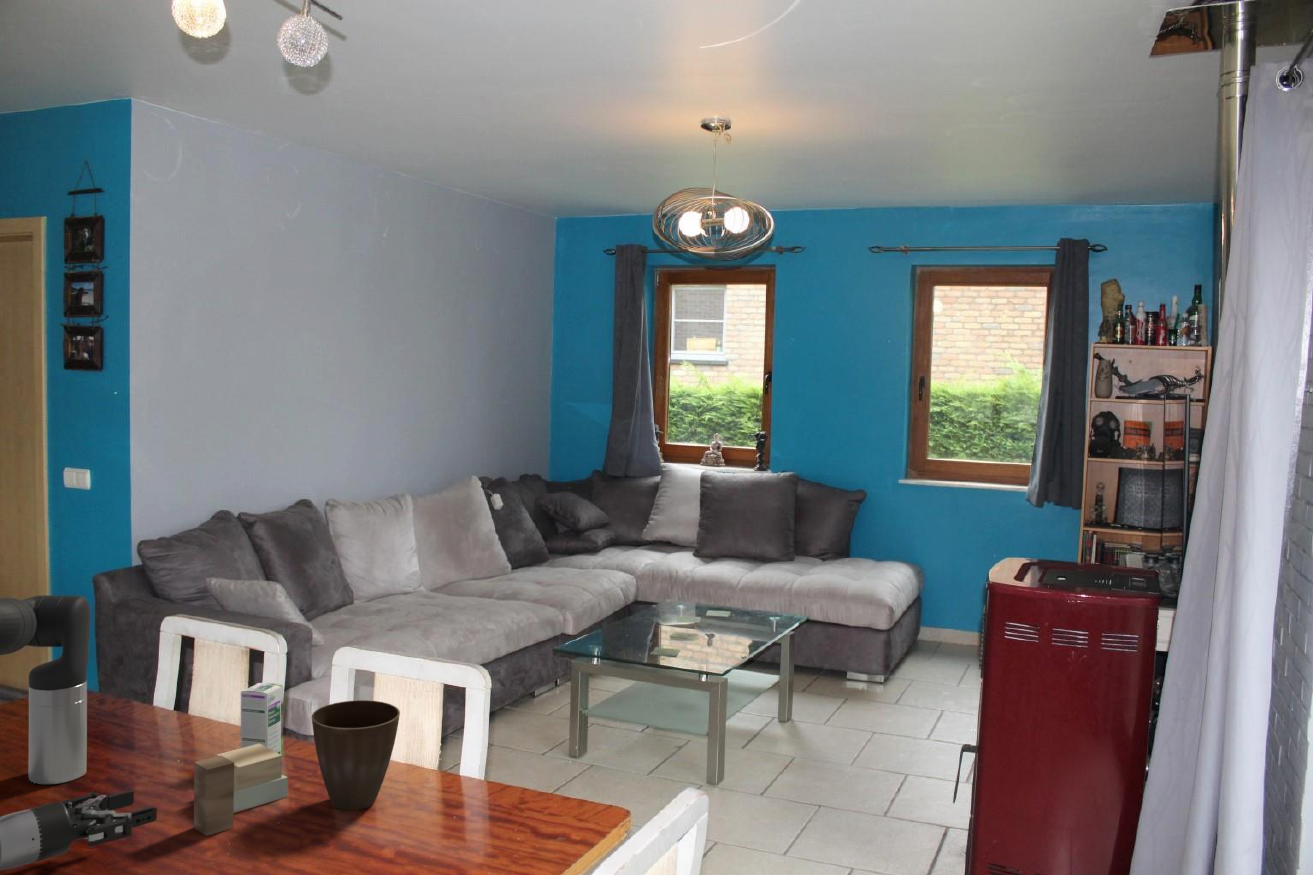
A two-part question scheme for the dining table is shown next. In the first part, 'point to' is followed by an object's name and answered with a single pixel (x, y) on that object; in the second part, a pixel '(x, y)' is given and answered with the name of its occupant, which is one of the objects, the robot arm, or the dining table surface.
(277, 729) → the syrup box
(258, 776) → the tower top
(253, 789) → the tower base
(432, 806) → the dining table surface
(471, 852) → the dining table surface
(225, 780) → the walnut block
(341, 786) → the plant pot
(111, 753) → the dining table surface
